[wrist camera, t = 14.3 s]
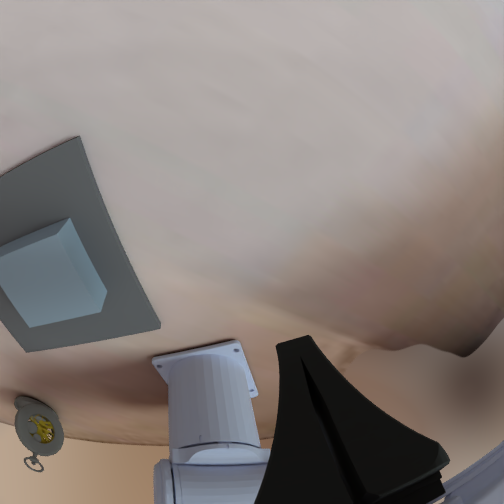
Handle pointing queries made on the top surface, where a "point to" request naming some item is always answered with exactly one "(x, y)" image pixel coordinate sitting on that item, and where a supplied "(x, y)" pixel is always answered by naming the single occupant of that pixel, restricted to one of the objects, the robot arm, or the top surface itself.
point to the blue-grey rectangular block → (50, 276)
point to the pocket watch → (37, 429)
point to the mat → (92, 237)
